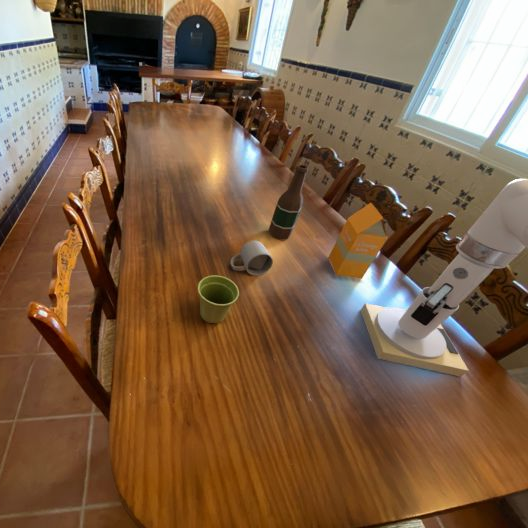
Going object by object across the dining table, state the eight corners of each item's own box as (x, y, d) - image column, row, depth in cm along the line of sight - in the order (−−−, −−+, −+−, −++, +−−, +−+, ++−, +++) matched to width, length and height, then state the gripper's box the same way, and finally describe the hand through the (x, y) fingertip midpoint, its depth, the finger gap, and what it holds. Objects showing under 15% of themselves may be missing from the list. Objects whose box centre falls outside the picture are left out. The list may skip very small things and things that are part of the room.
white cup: (424, 322, 70) (453, 292, 63) (433, 344, 65) (464, 314, 58) (393, 313, 71) (418, 283, 65) (399, 334, 66) (426, 304, 60)
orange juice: (352, 260, 94) (385, 203, 81) (362, 279, 87) (399, 220, 74) (327, 257, 94) (356, 200, 82) (335, 275, 87) (367, 216, 75)
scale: (430, 323, 75) (439, 314, 73) (461, 376, 64) (472, 368, 62) (360, 309, 77) (366, 300, 75) (377, 358, 66) (385, 349, 64)
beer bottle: (267, 237, 100) (290, 169, 85) (268, 226, 106) (288, 159, 91) (291, 242, 99) (318, 173, 84) (290, 230, 105) (315, 163, 90)
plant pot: (239, 315, 73) (247, 290, 67) (215, 337, 67) (222, 311, 62) (209, 294, 78) (214, 270, 72) (185, 313, 72) (189, 288, 66)
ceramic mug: (259, 257, 91) (265, 237, 87) (269, 275, 85) (276, 254, 80) (226, 259, 90) (230, 238, 85) (234, 277, 84) (239, 255, 79)
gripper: (493, 276, 47) (425, 344, 59) (527, 247, 55) (460, 312, 66) (442, 251, 52) (388, 318, 63) (479, 227, 60) (425, 291, 71)
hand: (425, 314), depth 65 cm, fingers closed on white cup, 5 cm apart
